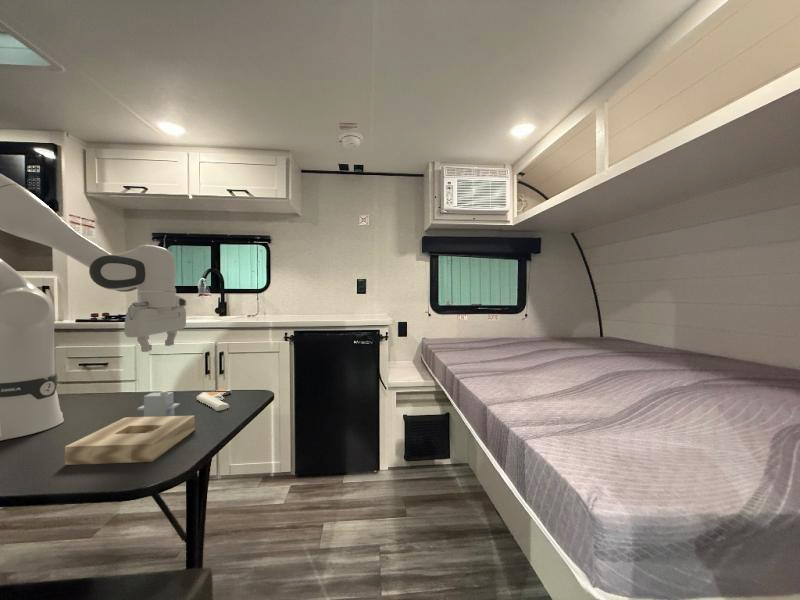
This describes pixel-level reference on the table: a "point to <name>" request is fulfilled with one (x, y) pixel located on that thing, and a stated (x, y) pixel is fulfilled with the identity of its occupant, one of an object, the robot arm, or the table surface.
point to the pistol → (214, 399)
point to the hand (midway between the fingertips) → (158, 348)
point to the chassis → (130, 440)
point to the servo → (159, 404)
